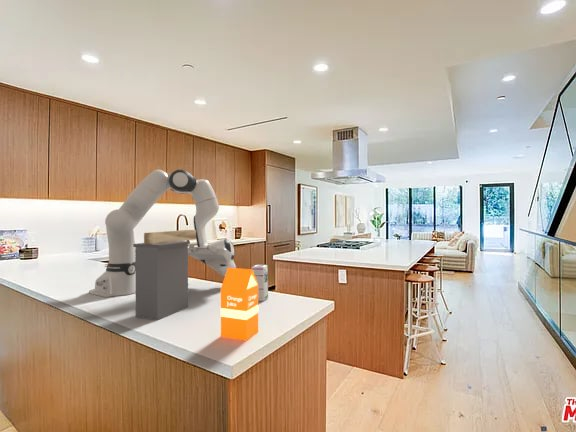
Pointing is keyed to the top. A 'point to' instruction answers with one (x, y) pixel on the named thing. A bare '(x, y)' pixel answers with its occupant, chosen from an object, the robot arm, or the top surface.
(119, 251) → the robot arm
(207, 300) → the top surface
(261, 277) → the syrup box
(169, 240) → the maple bar
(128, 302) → the top surface
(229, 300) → the orange juice
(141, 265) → the pedestal
